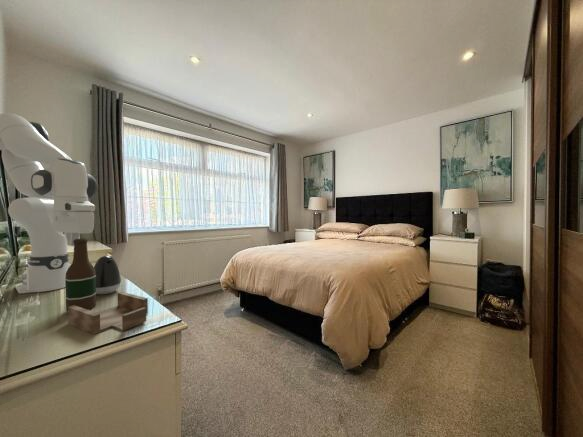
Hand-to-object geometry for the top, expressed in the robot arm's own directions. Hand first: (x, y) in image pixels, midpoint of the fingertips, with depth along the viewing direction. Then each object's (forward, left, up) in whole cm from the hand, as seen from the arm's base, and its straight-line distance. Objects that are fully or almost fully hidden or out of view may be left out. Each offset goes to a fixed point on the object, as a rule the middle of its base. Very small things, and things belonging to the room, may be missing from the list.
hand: (72, 245), depth 83 cm
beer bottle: (+5, 0, -22) cm, 22 cm away
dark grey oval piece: (-6, +13, -22) cm, 26 cm away
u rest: (+25, 0, -21) cm, 33 cm away
